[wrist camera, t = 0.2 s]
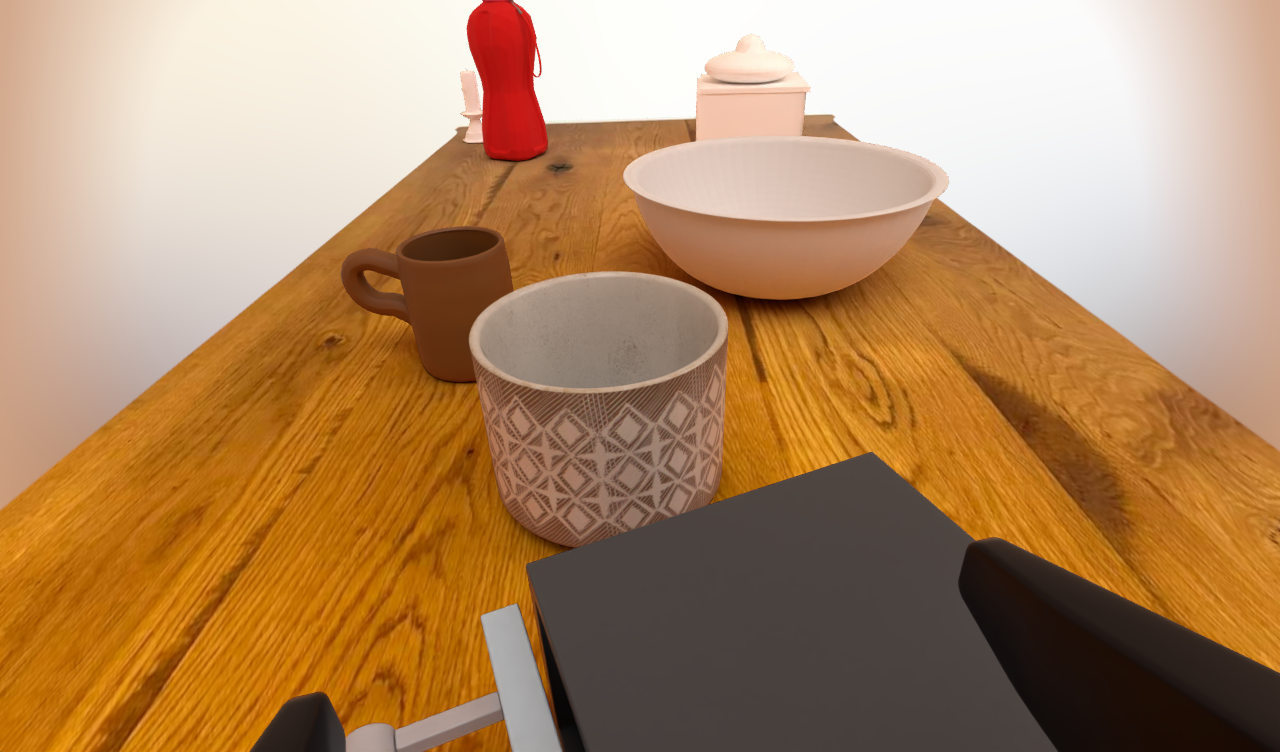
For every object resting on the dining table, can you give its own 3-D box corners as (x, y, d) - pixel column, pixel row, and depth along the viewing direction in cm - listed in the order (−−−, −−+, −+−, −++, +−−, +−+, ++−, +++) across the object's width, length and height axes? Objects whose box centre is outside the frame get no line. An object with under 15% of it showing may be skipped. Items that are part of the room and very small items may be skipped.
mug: (349, 389, 47) (309, 268, 42) (383, 339, 53) (353, 228, 48) (514, 384, 46) (494, 261, 41) (529, 334, 53) (513, 223, 48)
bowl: (953, 357, 48) (988, 226, 42) (597, 334, 52) (588, 214, 47) (899, 232, 70) (917, 136, 65) (654, 224, 75) (652, 134, 70)
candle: (479, 144, 114) (467, 70, 108) (457, 142, 117) (444, 69, 110) (499, 138, 118) (488, 66, 112) (477, 136, 121) (466, 65, 114)
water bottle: (534, 164, 101) (512, -23, 87) (477, 159, 105) (448, -21, 91) (564, 151, 108) (548, -25, 94) (510, 147, 112) (487, -22, 98)
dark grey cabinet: (682, 1143, 16) (683, 1033, 11) (554, 723, 25) (525, 563, 20) (1071, 886, 20) (1194, 726, 15) (840, 606, 29) (872, 450, 25)
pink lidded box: (696, 125, 123) (698, 30, 114) (792, 123, 121) (801, 27, 113) (695, 146, 108) (696, 39, 99) (804, 144, 106) (815, 36, 98)
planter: (767, 499, 35) (784, 334, 30) (563, 607, 30) (537, 428, 24) (643, 396, 45) (637, 254, 39) (468, 463, 39) (433, 309, 33)
